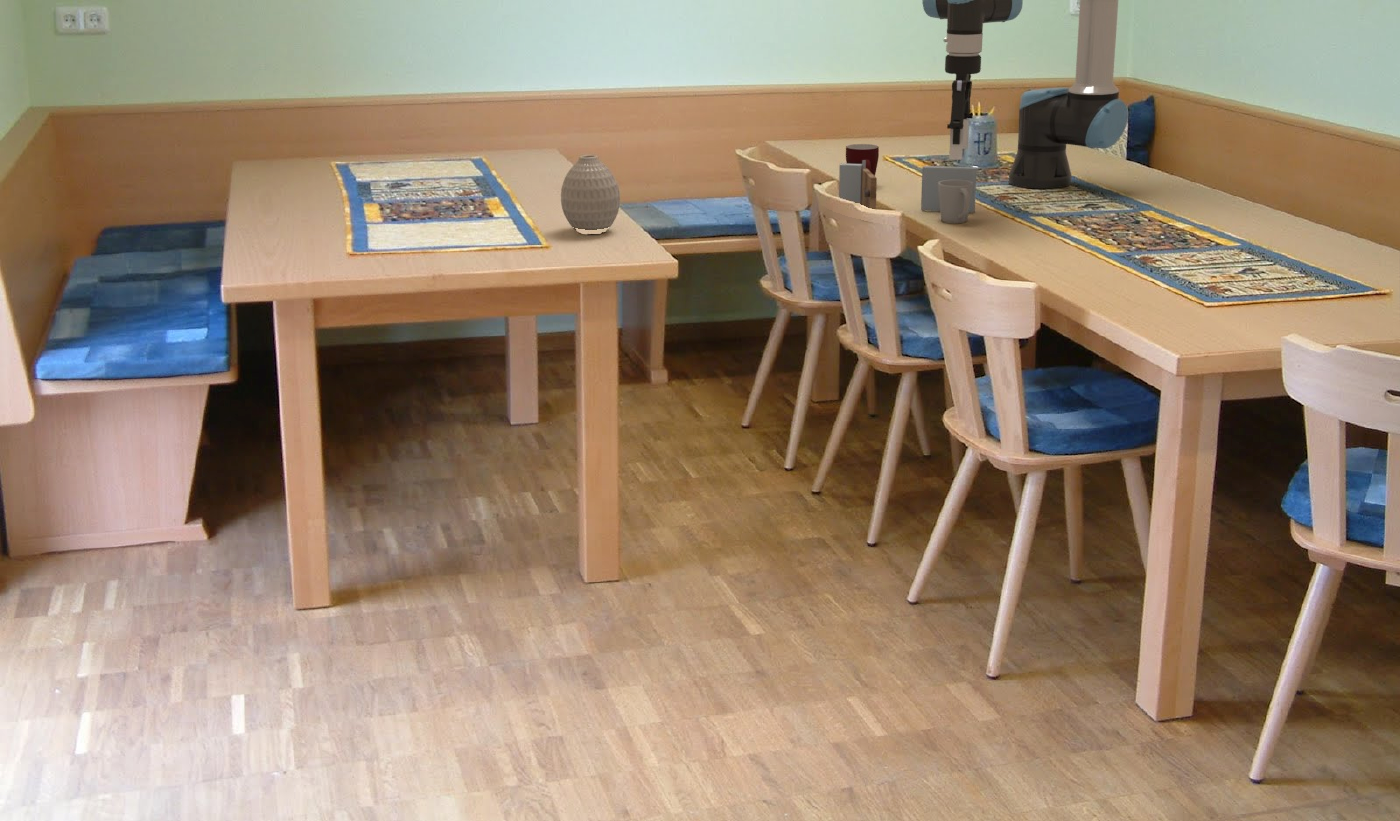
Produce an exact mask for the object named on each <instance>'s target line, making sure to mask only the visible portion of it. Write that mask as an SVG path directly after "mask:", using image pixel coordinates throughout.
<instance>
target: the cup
mask: <svg viewBox="0 0 1400 821" xmlns="http://www.w3.org/2000/svg"><path fill="white" fill-rule="evenodd" d="M972 188H973V183H972V182H971V181H967V180H943V181H940V182H938V189H939V203H940V212H939V213H940V220H941V222H943V223H946V224H962V223H963V224H964V223H966V222H967V221H968V216H969V213H968V212H969V207H970V202H971V195H972Z"/></svg>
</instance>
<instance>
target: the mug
mask: <svg viewBox="0 0 1400 821" xmlns="http://www.w3.org/2000/svg"><path fill="white" fill-rule="evenodd" d="M879 147H880V146H878V145H877V144H871V143H870V144H869V143H856V144H849V145H846V146H845V161H846V162H845V164H862V160H866V168H867V169H868V170H869V171H870V172H871V173H872V174H873V175H874V176H875V177H876V173H877V167H878V162H879V158H880V157H879V156H880V155H879V154H880V153H879V152H880V150H879V149H880V148H879Z"/></svg>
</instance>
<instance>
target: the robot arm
mask: <svg viewBox="0 0 1400 821" xmlns="http://www.w3.org/2000/svg"><path fill="white" fill-rule="evenodd" d="M1023 1H1024V0H922V8H923V11H924V13H925V14H926V15H927V16H928V17H930V18H934V19H939V20H946V21H947V24H946V26H947V28H946V37H944V38H943V39H942V40H943V42H944V43H946V46H945V52H946V53H947V54H946V56H945V58H944V60H945V63H944V71H945V73H947V74H951V75H953V74H954V75H955V80H953V81H952V83H951V111H950V122H949V123H948V124H947V126H946V128H947V129H950V130H949V131H950V132H949V134H950V135H949V151H948V152H949V153H948V154H949V156H948V157H949V158H948V160H960V161H962V160H963V153H964V152H963V151H964V150H968V149H969V135H970V134H969V133H970V132H969V130H970V119H973V117H974V116H973V115H974V114H973V113H971V112H972V111H971V96H972V86H973V81H971V78H972V75H975V74H976V75H977V74H978V73H980V72H981V69H982V68H981V67H982V57H981V54H980V53H982V51H983V36H984V34H983V30H984V29H983V27H984V26H983V25H984V24H987V23H1005V22H1008V21H1012V20H1015V19H1016V18H1017V17H1018V16H1019V15H1020V14H1021V12H1022V9H1023ZM1118 11H1119V0H1079V11H1078V12H1079V14H1078V26H1077V28H1078V30H1077V44H1076V45H1077V48H1076V61H1075V62H1076V63H1075V64H1076V65H1075V66H1076V67H1075V80H1074V81H1075V82H1074V83H1073V84H1072V85H1071V86H1070V87H1066V86H1065V87H1062V86H1060V87H1050V88H1049V87H1047V88H1040V89H1031V90H1026V91H1025V92H1023V94H1021V96H1020V103H1019V104H1020V105H1019V109H1018V111H1019V116H1018V138H1017V150H1016V151H1017V152H1016V155H1015V157H1014V160H1013V163H1012V164H1011V168H1010V170H1009V172H1008V183H1009V184H1010V185H1013V186H1016V187H1020V188H1025V189H1027V188H1029V189H1058V188H1065V187H1068V186H1070V185H1072V172H1071V168H1070V164H1069V159H1068V155H1067V145H1071V146H1078V147H1084V148H1088V149H1090V150H1091V149H1108V148H1110V147H1113V146H1114V145H1115V144H1116V143H1118V142H1119V140H1120V138H1122V135H1123V134H1124V132H1125V129H1126V127H1127V124H1128V119H1129V110H1128V107H1127V104H1126V102H1125V101H1124V100H1122V99H1119V98H1120V96H1119V95H1120V89H1119V87H1117V86H1116V84H1114V72H1115V70H1114V68H1115V57H1116V43H1117V42H1116V41H1117V29H1118V28H1117V26H1118Z"/></svg>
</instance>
